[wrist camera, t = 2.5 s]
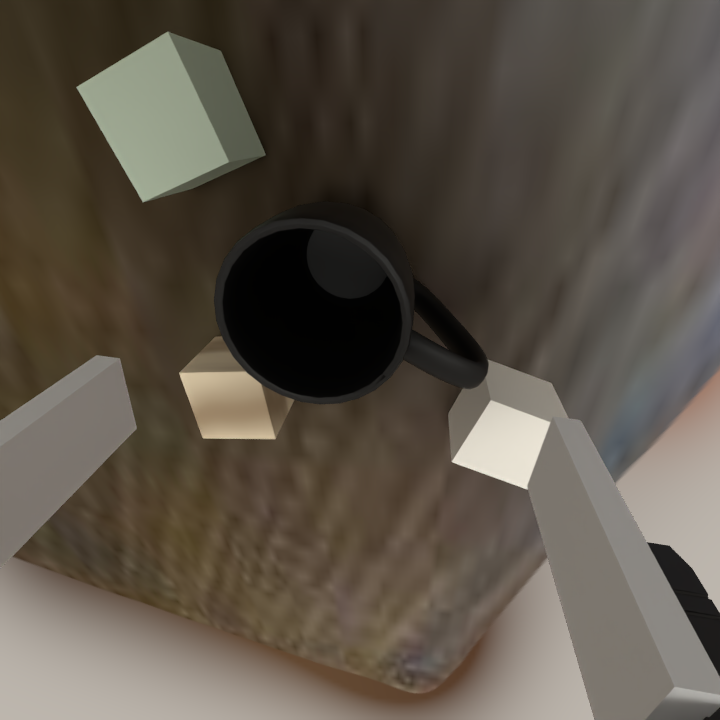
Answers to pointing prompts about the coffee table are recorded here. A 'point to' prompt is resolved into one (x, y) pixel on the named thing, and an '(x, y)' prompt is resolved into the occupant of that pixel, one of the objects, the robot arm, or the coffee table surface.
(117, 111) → the sage cube
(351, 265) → the mug
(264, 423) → the maple cube
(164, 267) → the coffee table surface
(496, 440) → the cream cube
